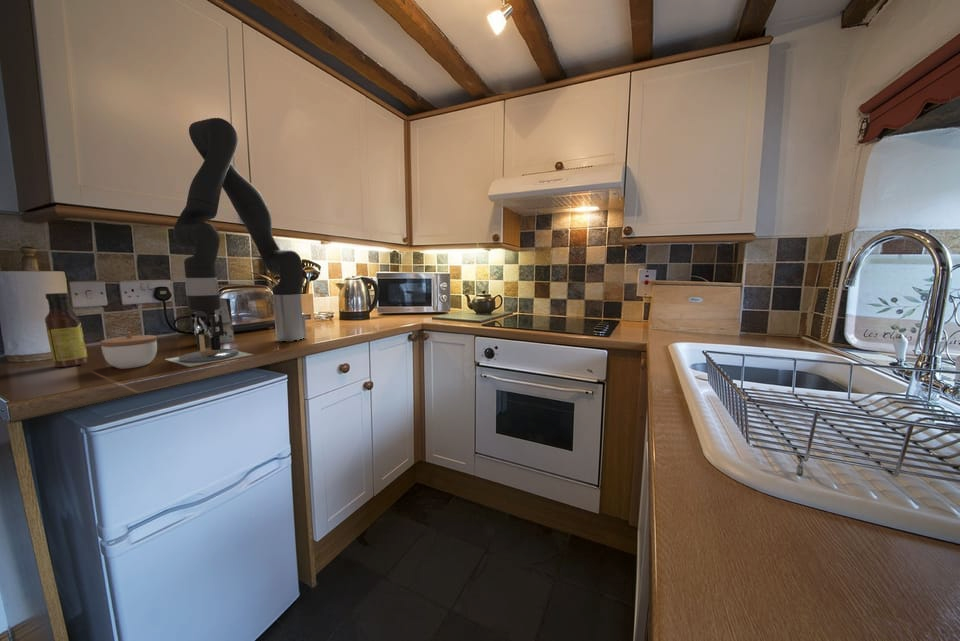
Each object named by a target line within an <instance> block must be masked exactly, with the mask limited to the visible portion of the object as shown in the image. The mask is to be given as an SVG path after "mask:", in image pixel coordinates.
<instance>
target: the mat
mask: <svg viewBox="0 0 960 641" xmlns="http://www.w3.org/2000/svg"><path fill="white" fill-rule="evenodd" d="M238 353H239V354H238V355H237V356H234V357H231V358H227V359H223V360H217V361H210V362H199V363H184V362H180V361H179V357H180V356H176V357H169V358H165V359H164V360H165V361H169V362H172V363H175V364H179V365H182V366H184V367H195V366H202V365H205V364H206V365H207V364H211V363H212V364H213V363H216V362H217V363H218V362H222V361H228V360H232V359H237V358H243V357H247V356H248V357H249V356H253V355H254V354H253V353H248V352H244V351H239V350H238Z"/></svg>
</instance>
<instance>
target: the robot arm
mask: <svg viewBox="0 0 960 641" xmlns="http://www.w3.org/2000/svg"><path fill="white" fill-rule="evenodd" d="M188 135H189V138H190V139H191V142H192V144H193V146H194V147H195V149H196V150H197V152H198V153H199V155H200V156H201V157H202V159H203V162H202V164H201V166H200V168H199V169H198V171H197V172H196V174H195V175H194V177H193V178H192V181H191V183H190V186H189V189H188V194H187V200H186V204H185V207H184V208H183V210H182V211H181V213H180V215H179V216H178V218H177V220H176V222H175V224H174V226H173V238H174V240H175V242H176V243H177V244H178V245H179V246H180V247H182V248H185V249H195V250H194V254H193V255H192V256H188V257H186V258H185V259H184V261H183V267H184V276H185V285H184V286H185V295H186V296H185V297H186V304H187V309H188V311H191V312H189V318H190V320H189V321H190V331H191V333H194V336H195V337H196V346H197V348H200V343H199V335H200V334H205V333H206V332H208V334H209V336H210V345H211V350H219V349H222V346H221V343H220V336H221V335H224V330H223V323H222V316H221V314H219V315H215V312H214V311H215V310H218V309H220V308H221V306H220V298H221V297H220V288H219V283H218V279H217V270H216V262H217V258H218V252H219V247H220V243H221V242H220V241H221V240H220V239H221V238H220V235H219V234H220V233H219V232H218V230H217V229H216V228H215V226H213V225H212V224H210V223H208V222H207V221H210V220H212V219H213V220H214V219H215V218H216V216H217V214H218V208H219V205H220V204H219V203H220V198H221V193H222V190H224V192H225V194H226V195H227V197H228V199H229V200H230V202H231V204H232V207H233V209H234V210H235V212H236V213H237V215H238V217H239V218H240V220H241V221H242V223H243V224H244V227H245V229H246V230H247V231H248V233H249V236H250V237H251V239H252V241H253V242H254V245H255V247H256V249H257V251H258V253H259V255H260V258H261V260H262V261H263V264H264V266H265V268H266V269H267V271H268V272H269V273H270V274H272V275H274V276H278V277H279V281H278V282H277V284H276V285H274V286H273V287H272V288H271V289H272V303H273V314H274V325H275V327H274V328H275V339H276V341H277V342H282V341H286V342H295V341H294V340H297V341H301V340H300V339H302V340H303V338H304V339H307V329H306V328H307V327H306V314H305V313H304V312H303V304H302V294H301V293H302V291H301V290H302V287H303V262H302V258H301V256H300V255H299V254H298V253H297V252H296V251H295V250H291V249H289V250H288V249H286V250H282V249H280V246H278V243H277V241H276V240H275V238H274V236H273V231H272V229H273V228H272V214H271V211H270V209H269V206H268V205H267V203H266V200H265V199H264V196H263V195H262V193H261V192H260V191H259V190H258V188H256V186H254V185H253V183H251V182H250V181H248V179H247V178H246V177H244V176H243V175H242V174H241V173H239V171H238V170H237V169H236V168H235V167H234V165H233V164H232V160H233V158H234V156H235V154H236V151H237V149H238V146H239V136H238V133H237V130H236V129H235V127H234V126H233V125H232V124H231V123H230V122H229V121H227V120H226V119H224V118H221V117H212V118H211V117H209V118H206V119H202V120H199V121H195V122H193V123H191V124H190V125H189V127H188ZM219 329H220V331H219Z"/></svg>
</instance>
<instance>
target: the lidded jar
mask: <svg viewBox="0 0 960 641" xmlns="http://www.w3.org/2000/svg"><path fill="white" fill-rule="evenodd" d="M157 341H158V337H157V336H156V335H152V334H146V335H145V334H142V335H141V334H140V335H132V332H129V331H128V332H125V336H120V337H112V338H106V339H103V340H101V341H100V342H99V344H100V346H101V353H102V355H103V357H104V360H105V361H106V362H107V363H108V364H109V365H111V367H114V368H117V369H132V368H139V367H144V366H147V365H149V364H150V363H152V361H154V359H155V357H156V355H157V352H158V342H157Z"/></svg>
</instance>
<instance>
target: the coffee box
mask: <svg viewBox="0 0 960 641" xmlns="http://www.w3.org/2000/svg"><path fill="white" fill-rule="evenodd" d="M231 305H232V304H231V299H230V298H226V297H224V298H223V297H220V306H221V308H220V309H218V310H215V311H214V312H215V315H219V314H221V316H222V323H223V330H224V335H221V336H220V344H226V343H231V342H235V336H234V328H233V327H234V326H233V317H232V306H231ZM219 331H220V329H219ZM207 333H208V332H206V333H205V334H207Z"/></svg>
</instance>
